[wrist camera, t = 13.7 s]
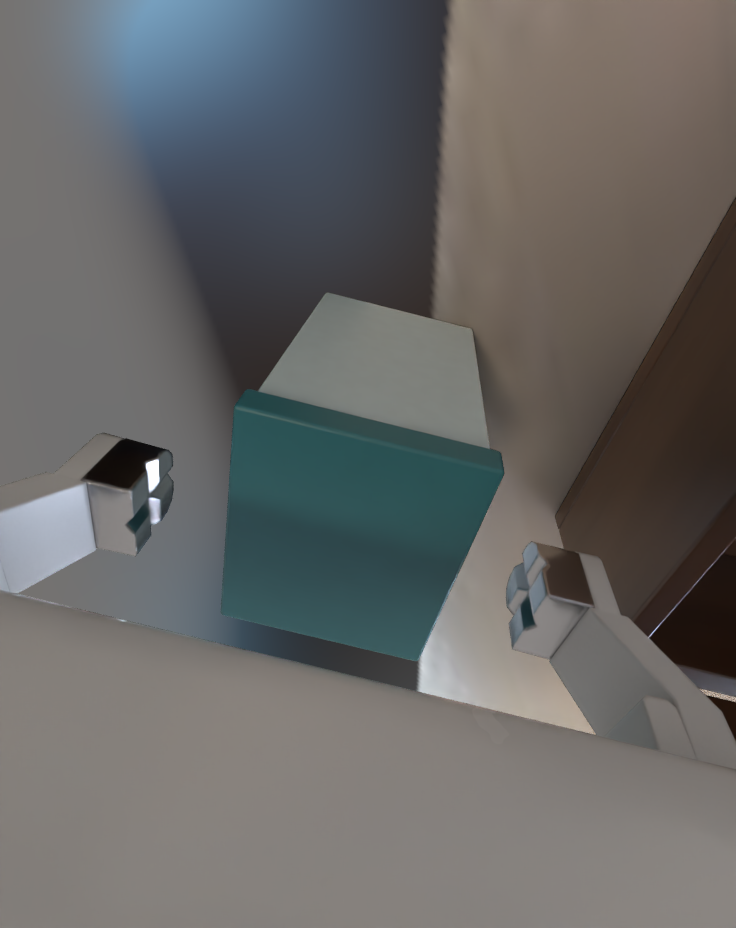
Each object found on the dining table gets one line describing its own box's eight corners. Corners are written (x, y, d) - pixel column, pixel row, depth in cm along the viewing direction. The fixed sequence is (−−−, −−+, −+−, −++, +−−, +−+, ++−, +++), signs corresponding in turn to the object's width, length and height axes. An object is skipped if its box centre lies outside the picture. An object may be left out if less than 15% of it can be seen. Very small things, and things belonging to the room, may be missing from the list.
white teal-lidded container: (321, 285, 16) (232, 404, 9) (479, 324, 16) (506, 472, 9) (297, 443, 20) (219, 615, 13) (426, 475, 20) (418, 663, 13)
